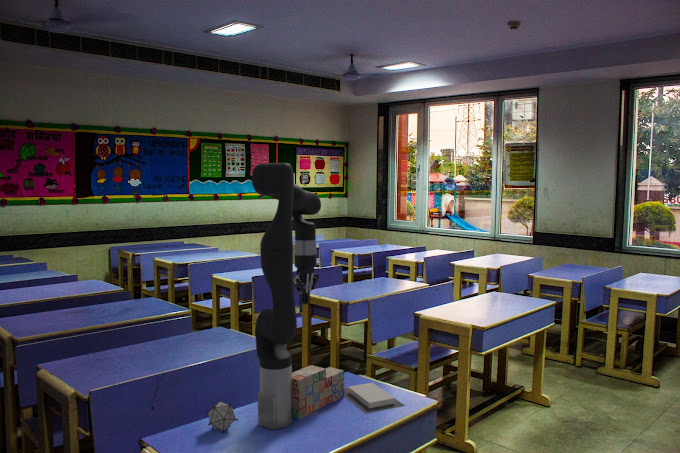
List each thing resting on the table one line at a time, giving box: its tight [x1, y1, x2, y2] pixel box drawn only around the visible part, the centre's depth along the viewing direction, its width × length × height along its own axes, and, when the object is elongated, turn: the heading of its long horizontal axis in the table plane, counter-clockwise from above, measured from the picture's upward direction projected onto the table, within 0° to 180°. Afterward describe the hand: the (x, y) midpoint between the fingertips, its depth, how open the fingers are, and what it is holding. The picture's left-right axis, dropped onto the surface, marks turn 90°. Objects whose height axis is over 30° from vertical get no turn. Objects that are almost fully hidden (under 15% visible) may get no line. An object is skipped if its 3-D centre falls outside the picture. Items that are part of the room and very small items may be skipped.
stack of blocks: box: [292, 364, 345, 420], centre depth 171 cm, size 21×6×12 cm, turn 141°
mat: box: [343, 387, 406, 415], centre depth 176 cm, size 21×14×1 cm, turn 25°
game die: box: [205, 398, 239, 435], centre depth 154 cm, size 9×8×10 cm
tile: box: [347, 382, 396, 408], centre depth 176 cm, size 2×9×15 cm
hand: (305, 303), depth 186 cm, fingers closed
